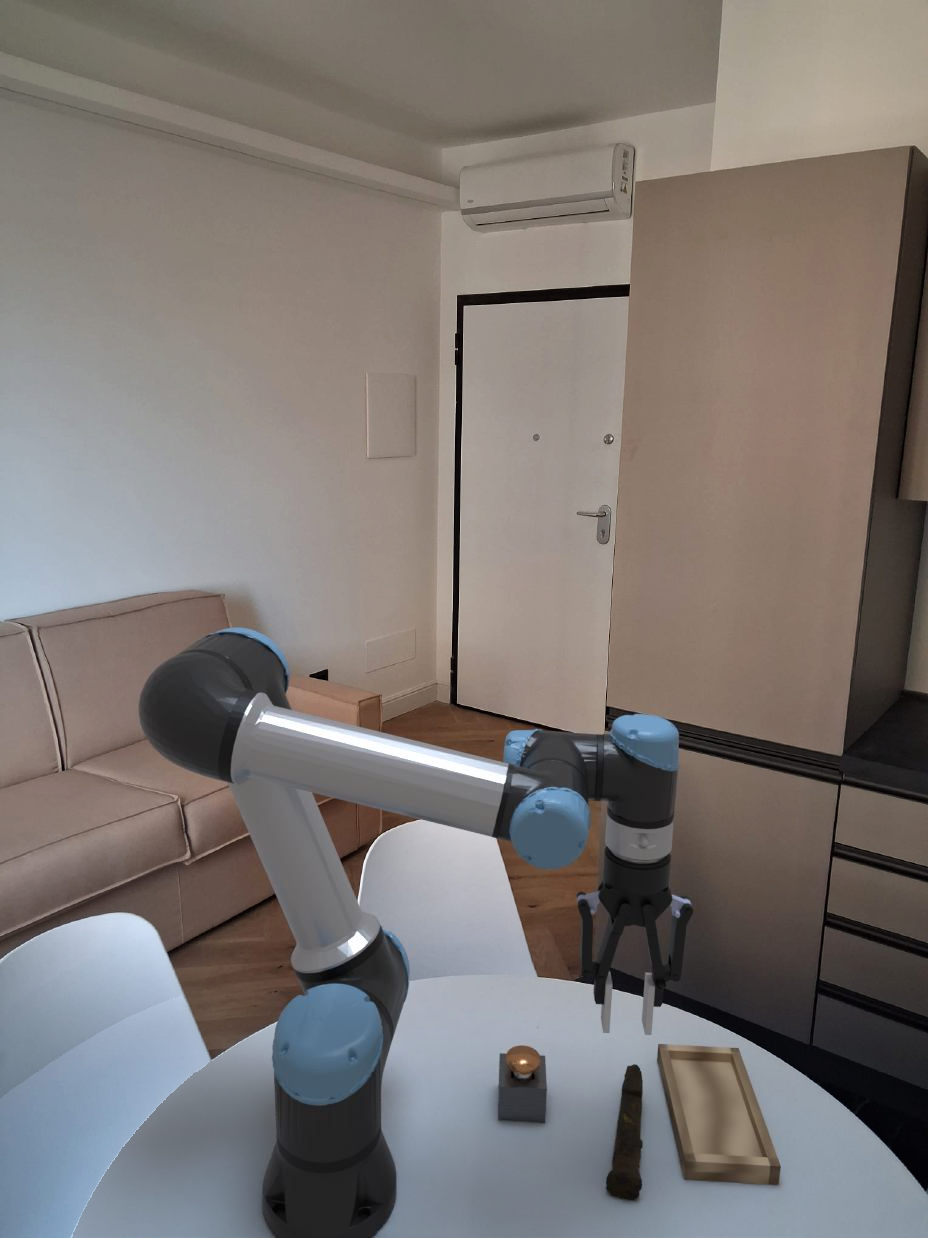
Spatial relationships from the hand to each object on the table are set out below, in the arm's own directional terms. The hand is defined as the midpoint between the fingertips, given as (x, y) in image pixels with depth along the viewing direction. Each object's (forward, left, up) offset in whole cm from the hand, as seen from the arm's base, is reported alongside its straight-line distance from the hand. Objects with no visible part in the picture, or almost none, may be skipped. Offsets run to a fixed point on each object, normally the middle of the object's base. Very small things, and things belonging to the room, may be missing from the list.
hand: (625, 1026), depth 109 cm
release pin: (-12, +5, -16) cm, 20 cm away
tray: (+12, +4, -16) cm, 21 cm away
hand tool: (+1, 0, -16) cm, 16 cm away
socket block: (-12, +5, -16) cm, 20 cm away
